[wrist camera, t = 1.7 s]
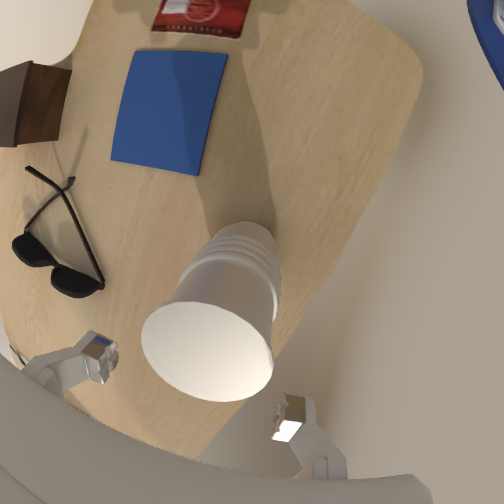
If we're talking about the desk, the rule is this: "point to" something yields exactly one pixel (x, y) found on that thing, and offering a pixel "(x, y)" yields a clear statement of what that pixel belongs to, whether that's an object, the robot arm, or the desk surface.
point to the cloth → (167, 109)
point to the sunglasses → (39, 256)
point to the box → (31, 103)
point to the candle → (220, 317)
